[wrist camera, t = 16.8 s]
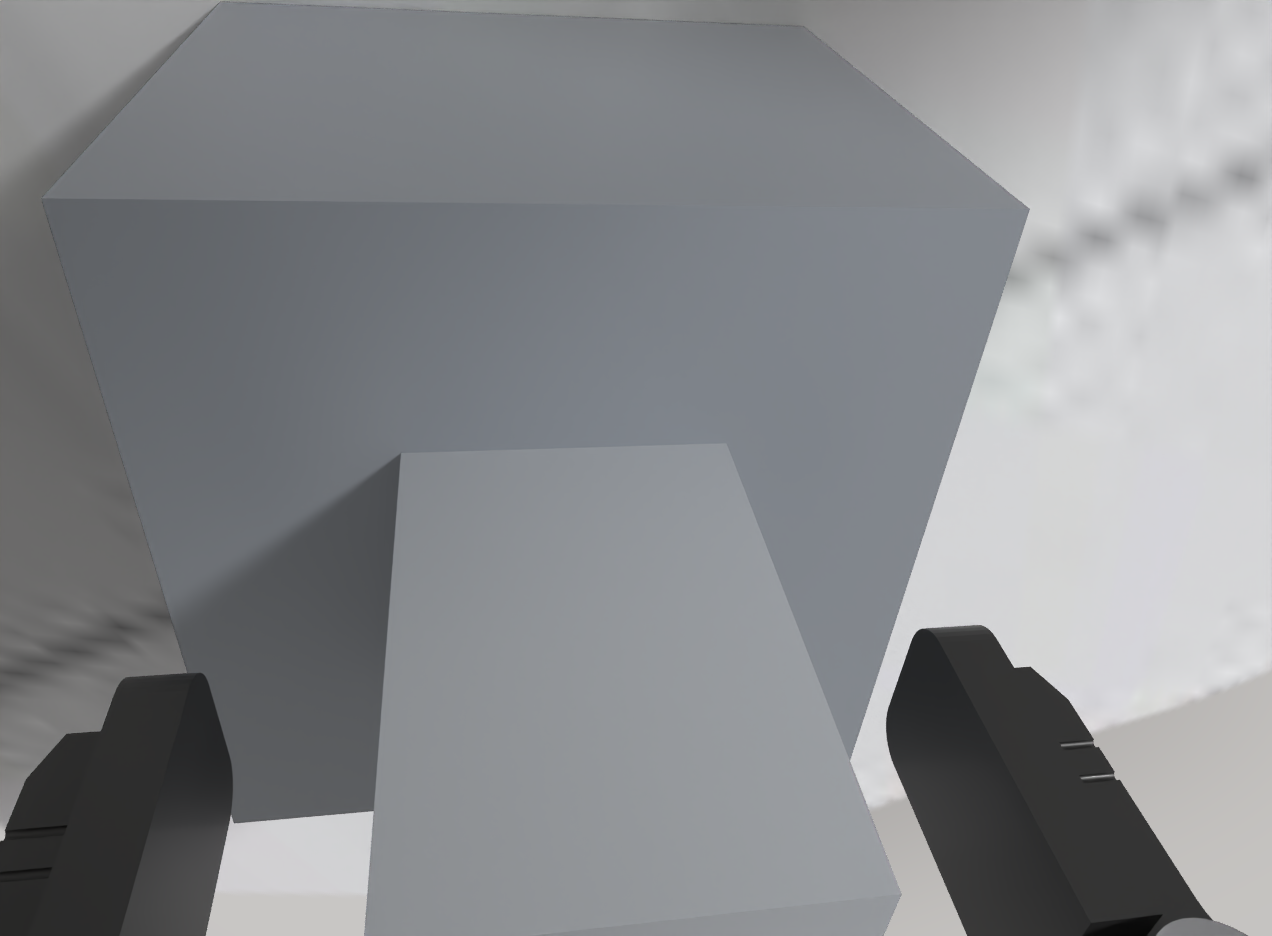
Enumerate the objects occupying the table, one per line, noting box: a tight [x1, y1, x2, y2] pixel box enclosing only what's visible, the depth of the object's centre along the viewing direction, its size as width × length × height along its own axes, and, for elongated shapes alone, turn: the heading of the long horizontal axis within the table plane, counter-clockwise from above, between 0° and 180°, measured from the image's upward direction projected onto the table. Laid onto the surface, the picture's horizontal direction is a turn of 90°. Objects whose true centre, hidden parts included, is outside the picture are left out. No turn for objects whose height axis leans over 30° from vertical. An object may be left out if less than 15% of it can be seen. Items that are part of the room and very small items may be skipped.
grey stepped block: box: [41, 2, 1030, 936], centre depth 14 cm, size 10×10×15 cm
